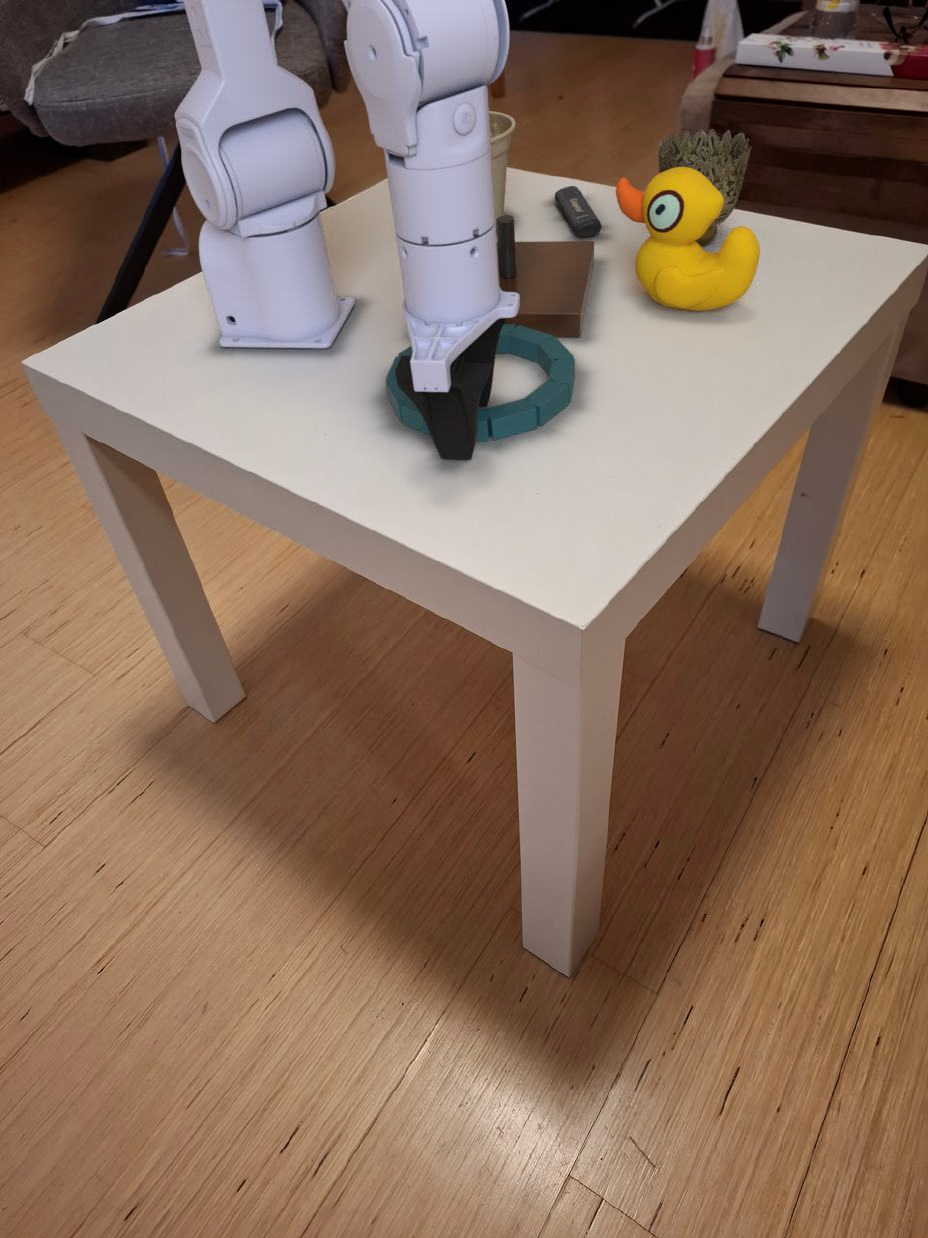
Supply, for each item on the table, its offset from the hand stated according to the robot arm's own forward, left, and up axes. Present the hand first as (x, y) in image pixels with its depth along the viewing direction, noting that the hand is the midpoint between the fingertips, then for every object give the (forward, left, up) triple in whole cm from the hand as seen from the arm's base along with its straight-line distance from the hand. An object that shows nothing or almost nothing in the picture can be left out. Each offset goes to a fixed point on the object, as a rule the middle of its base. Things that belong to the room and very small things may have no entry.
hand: (465, 429), depth 59 cm
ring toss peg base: (0, +20, 0) cm, 20 cm away
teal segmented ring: (0, +6, 0) cm, 6 cm away
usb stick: (+4, +36, -1) cm, 36 cm away
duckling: (+14, +19, -1) cm, 23 cm away
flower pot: (-6, +35, -1) cm, 35 cm away
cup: (+15, +31, -1) cm, 34 cm away
